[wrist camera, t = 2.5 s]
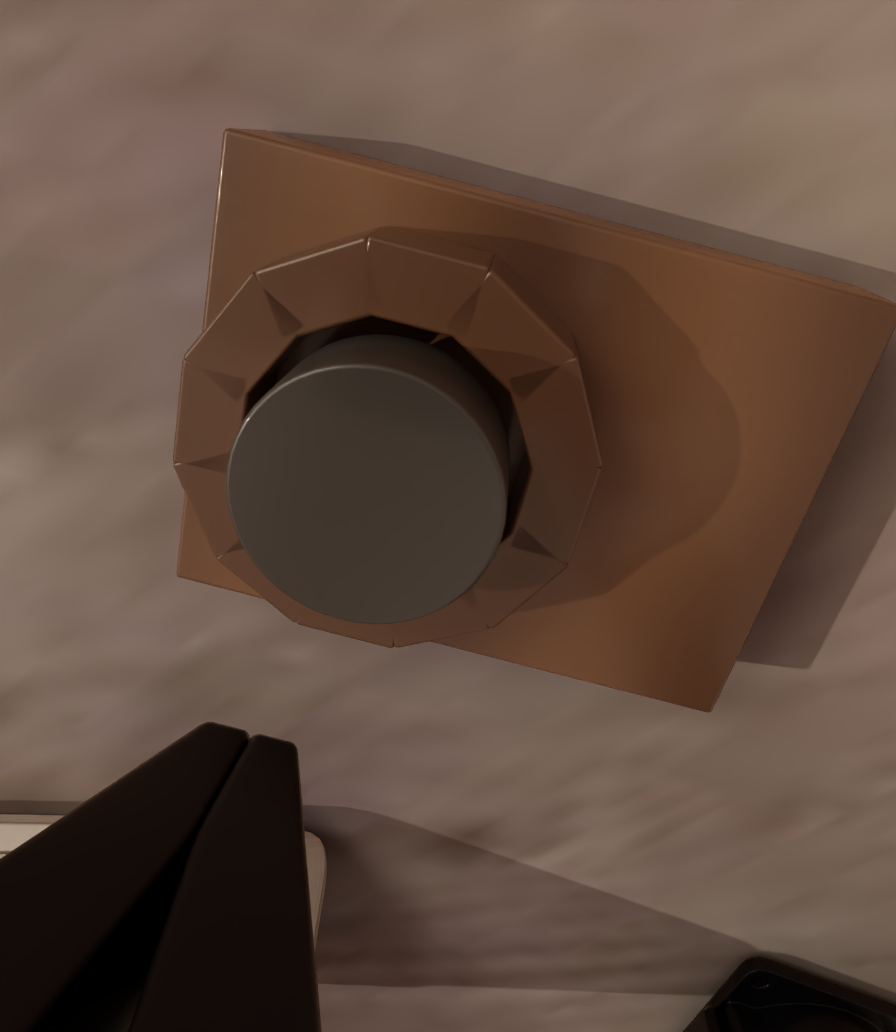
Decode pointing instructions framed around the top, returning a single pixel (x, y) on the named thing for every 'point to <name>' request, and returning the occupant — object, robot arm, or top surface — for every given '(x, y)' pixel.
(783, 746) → the top surface
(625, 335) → the button box
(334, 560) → the button
